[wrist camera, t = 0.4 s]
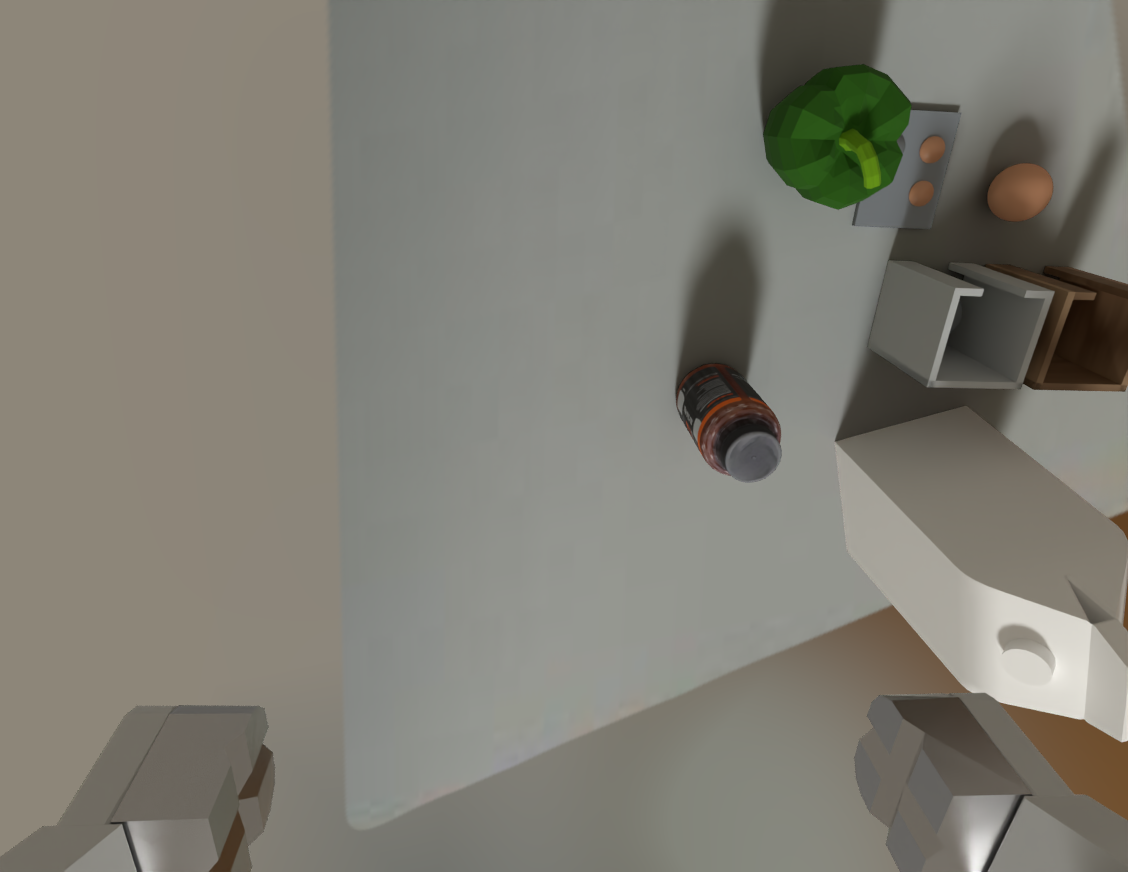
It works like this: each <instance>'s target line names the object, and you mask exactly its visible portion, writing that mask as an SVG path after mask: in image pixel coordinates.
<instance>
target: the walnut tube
mask: <svg viewBox="0 0 1128 872" xmlns="http://www.w3.org/2000/svg"><path fill="white" fill-rule="evenodd" d="M985 267H986V268H989V269H991V270H994V271H997V272H1000V273H1003V274H1006V275H1009V276H1012V277H1015V278H1017V279H1020V280H1023V281H1026V282H1029V283H1032V284H1035V285H1038V286H1041V287H1043V288H1046V289H1049V290H1052V291H1055V292H1054V295H1053V298H1052V301H1051V304H1050V307H1049V310H1048V312H1047V315H1046V318H1045V321H1044V324H1043V327H1042V330H1041V332H1040V335H1039V338H1038V341H1037V344H1036V347H1035V350H1034V353H1033V355H1032V358H1031V361H1030V364H1029V367H1028V370H1027V373H1026V375H1025V378H1024V381H1023V384H1025V385H1026V386H1028V387H1030V388H1032V389H1034V390H1078V391H1125V390H1126V388H1127V386H1128V284H1125V283H1122V282H1118V281H1115V280H1112V279H1108V278H1105V277H1101V276H1098V275H1095V274H1091V273H1088V272H1084V271H1081V270H1078V269H1074V268H1071V267H1054V266H1046V267H1045V270H1044V273H1047V274H1050V275H1053V276H1056V277H1059V281H1058V280H1055V279H1052V278H1049V277H1046V276H1043V275H1040V274H1037V273H1034V272H1031V271H1028V270H1024V269H1021V268H1018V267H1015V266H1012V265H1001V264H986V266H985Z"/></svg>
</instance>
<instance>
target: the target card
mask: <svg viewBox="0 0 1128 872" xmlns="http://www.w3.org/2000/svg"><path fill="white" fill-rule="evenodd" d="M960 116H961V113H956V112H939V111H921V110H911V112H910V119H909V125H908V126H907V127H906V129H905V130H904V131H903V133H902V134H901V136H900V137H899V138H898V140H897V143H898V145H899V147H900V149H901V151H902V154H903V156H902V159H901V162H900V164H899V167H898V169H897V172H896V175H895V177H894V180H893V182H892V183H891V184H890V185H888V186H887V187H885V188H883V189H882V190H880V191H878V192H876V193H875V194H873V195H871V196H870V197H868V198H866V199H865V200H863V201H861V202H858V203H857V206H856V210H855V215H854V219H853V224H852V225H854V226H869V227H893V228H916V229H931V226H932V223H933V219H934V215H935V211H936V207H937V204H938V200H939V196H940V192H941V189H942V185H943V181H944V177H945V173H946V170H947V166H948V162H949V158H950V154H951V151H952V147H953V143H954V139H955V135H956V132H957V128H958V124H959V120H960Z"/></svg>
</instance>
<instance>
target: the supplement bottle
mask: <svg viewBox="0 0 1128 872" xmlns="http://www.w3.org/2000/svg"><path fill="white" fill-rule="evenodd" d="M676 405H677V409H678V412H679V415H680V417H681V419H682V421H683V422H684V424H685V426H686V428H687V430H688V431H689V433H690V435H691V436H692V438H693V440H694V442H695V444H696V446H697V447H698V449H699V451H700V452H701V454H702V456H703V458H704V459H705V461H706V462H707V463H708V464H709V465H710V466H711V467H712V468H713V469H714V470H716V471H718V472H720V473H722V474H725V475H728V476H732V477H733V478H735V479H736V480H739V481H741V482H747V483H748V482H757V481H760V480H762V479H765V478H766V477H768V476H769V475H770V474H771V473H773V471H774V470H776V468H777V466H778V465H779V463H780V459H781V456H782V454H781V452H782V450H781V446H780V440H781V428H780V424H779V422H778V419H777V418H776V416H775V414H774V413H773V411H772V410H771V409H770V408H769V407H768V406H767V404H766V403H765V402H764V401H763V400H762V399H761V397H760V396H759V395H758V394H757V393H756V392H755V390H754V389H753V388H752V387H751V386H750V385H749V384H748V383H747V381H746V380H745V379H744V378H743V377H742V376H741V375H740V374H739V373H738V372H737V371H736V370H734V369H733V368H731V367H729V366H726V365H723V364H707V365H703V366H701V367H699V368H697V369H695V370H693V371H692V372H690V373H689V374H688V375H687V376H686V377H685V378H684V379H683V381H682V382H681V384H680V386H679V389H678V391H677V396H676Z"/></svg>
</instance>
